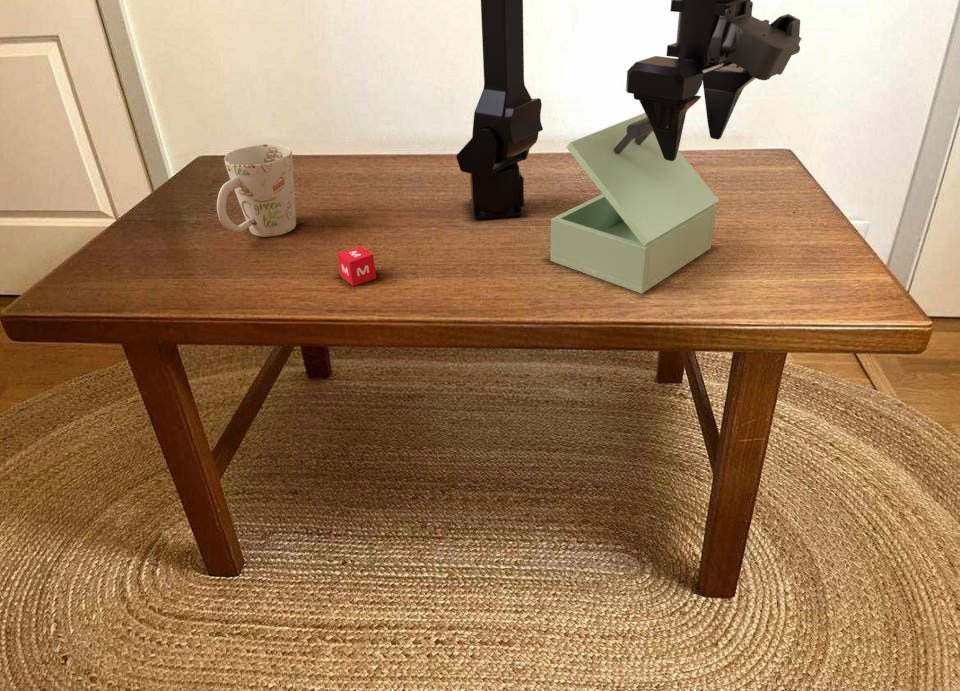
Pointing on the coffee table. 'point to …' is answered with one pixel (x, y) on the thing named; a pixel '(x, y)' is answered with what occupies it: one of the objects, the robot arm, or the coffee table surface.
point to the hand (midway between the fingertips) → (693, 149)
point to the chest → (624, 245)
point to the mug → (260, 189)
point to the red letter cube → (356, 265)
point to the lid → (642, 178)
